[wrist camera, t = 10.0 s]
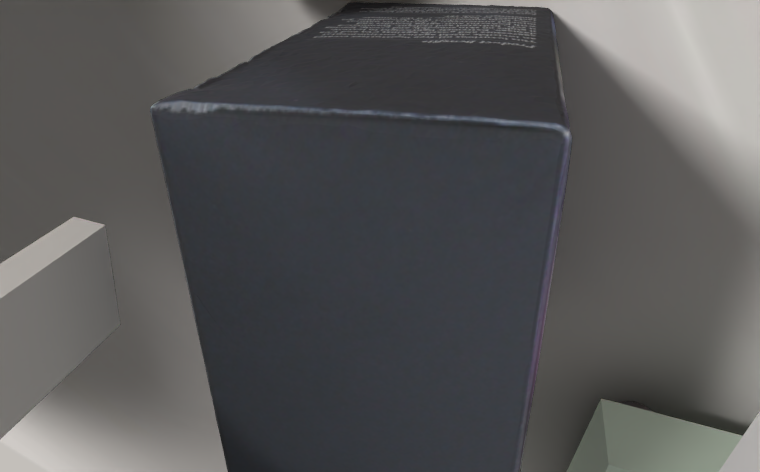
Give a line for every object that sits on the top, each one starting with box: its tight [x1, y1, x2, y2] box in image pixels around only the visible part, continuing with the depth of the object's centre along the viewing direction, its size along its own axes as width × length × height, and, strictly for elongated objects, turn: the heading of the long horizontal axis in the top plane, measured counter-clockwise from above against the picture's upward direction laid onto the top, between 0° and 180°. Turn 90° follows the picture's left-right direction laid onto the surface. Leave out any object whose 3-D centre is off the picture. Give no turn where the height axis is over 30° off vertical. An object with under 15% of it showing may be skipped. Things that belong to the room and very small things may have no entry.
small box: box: [150, 2, 572, 472], centre depth 15 cm, size 11×6×10 cm, turn 1°
